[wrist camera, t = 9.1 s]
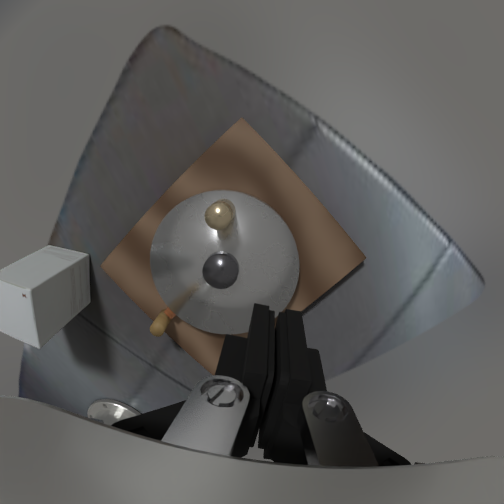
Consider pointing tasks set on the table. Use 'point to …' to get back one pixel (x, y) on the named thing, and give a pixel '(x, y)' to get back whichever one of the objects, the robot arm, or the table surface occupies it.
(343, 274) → the base board
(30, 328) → the supplement box
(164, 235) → the flange plate
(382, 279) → the table surface
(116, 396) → the table surface
